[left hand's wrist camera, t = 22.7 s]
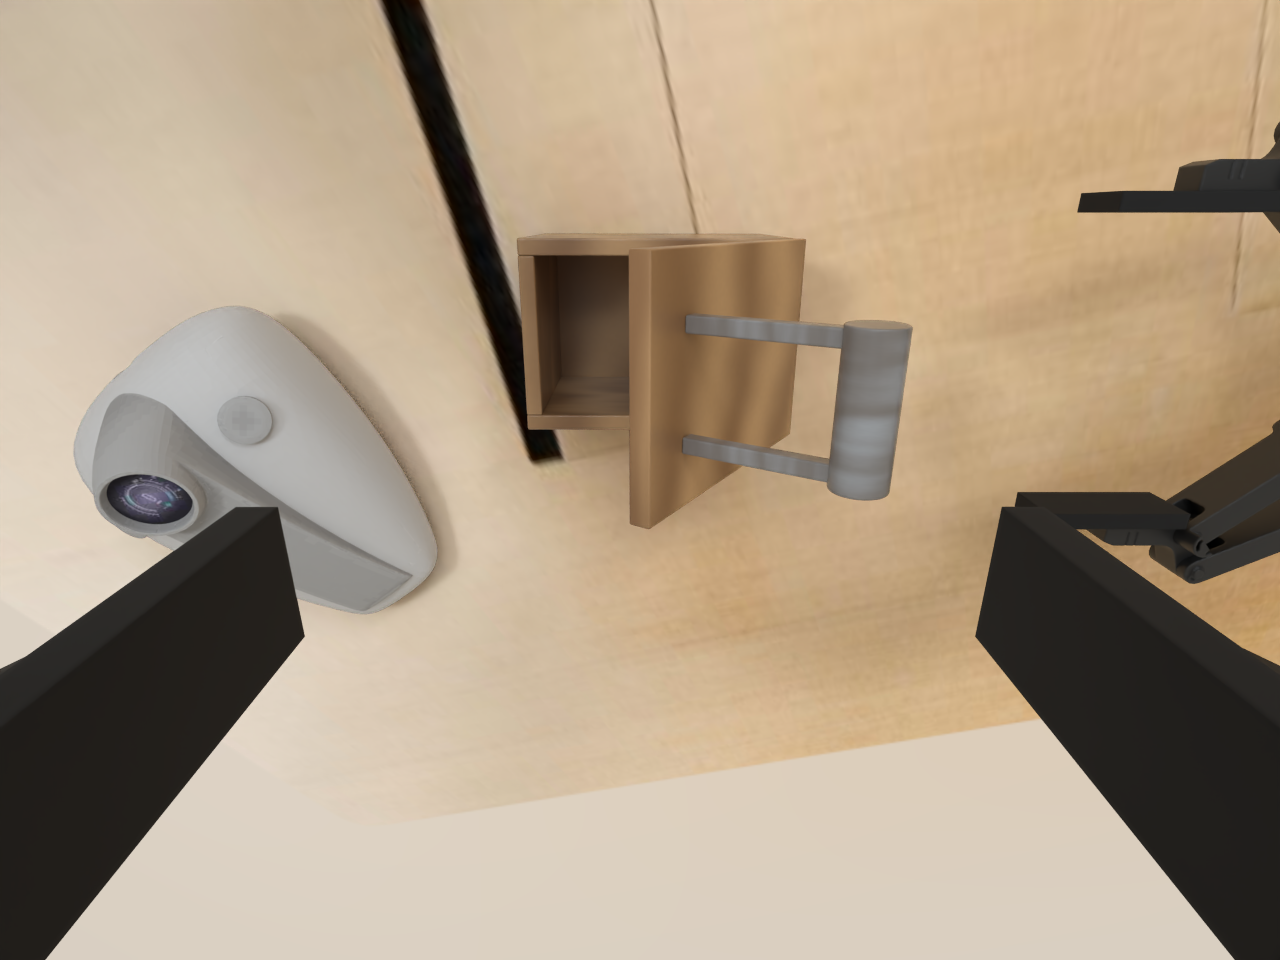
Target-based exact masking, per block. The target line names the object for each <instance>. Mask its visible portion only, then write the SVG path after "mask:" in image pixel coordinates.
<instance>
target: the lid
mask: <svg viewBox="0 0 1280 960" xmlns="http://www.w3.org/2000/svg"><path fill="white" fill-rule="evenodd" d="M805 245H806V239H777V240H761V241H744V242H728V243H712V244H696V245H679V246H663V247H647V248H631V249H629V431H630V524H631V525H635V526H639V527H642V528H646V529H650V528H652V527H653V526H655V525H656V524H658V523H659V522H661V521H662V520H663V519H665V518H666V517H668V516H669V515H671V514H672V513H674V512H675V511H677V510H678V509H680V508H681V507H683V506H684V505H686V504H687V503H689V502H690V501H691V500H693V499H694V498H696V497H697V496H699V495H700V494H702V493H703V492H705V491H706V490H708V489H709V488H711V487H712V486H714V485H715V484H717V483H718V482H719V481H721V480H722V479H724V478H725V477H727V476H728V475H730V474H731V473H733V472H734V471H736V470H737V469H739V468H740V467H742V466H747V467H752V468H757V469H762V470H767V471H772V472H777V473H782V474H788V475H793V476H798V477H803V478H808V479H813V480H818V481H823V482H827V488H828V489H829V490H830V491H831V492H832V493H834V494H836V495H838V496H841V497H845V498H849V499H854V500H878V499H882V498H884V497H886V496H887V495H888V494H889V491H890V484H891V477H892V470H893V463H894V456H895V449H896V442H897V435H898V428H899V421H900V414H901V407H902V400H903V393H904V386H905V379H906V372H907V365H908V358H909V351H910V344H911V337H912V330H913V328H912V326H911V325H909V324H906V323H901V322H893V321H881V320H857V321H849V322H846V323H845V324H844V325H835V324H823V323H810V322H799V317H800V305H801V293H802V281H803V269H804V257H805ZM797 344H799V345H809V346H819V347H829V348H840V349H841V356H840V365H839V374H838V384H837V393H836V403H835V412H834V421H833V431H832V440H831V450H830V459H826V458H821V457H815V456H810V455H804V454H799V453H793V452H788V451H782V450H777V449H771V448H770V447H771V446H773V445H774V444H776V443H777V442H778V441H780V440H781V439H783V438H784V437H786V436H787V435H789V434H790V425H791V413H792V401H793V389H794V377H795V365H796V353H797Z"/></svg>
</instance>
